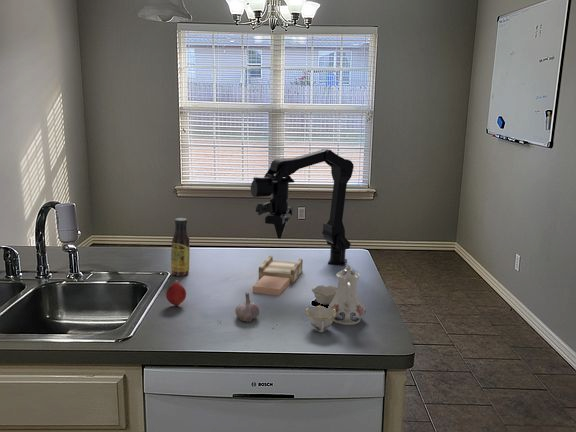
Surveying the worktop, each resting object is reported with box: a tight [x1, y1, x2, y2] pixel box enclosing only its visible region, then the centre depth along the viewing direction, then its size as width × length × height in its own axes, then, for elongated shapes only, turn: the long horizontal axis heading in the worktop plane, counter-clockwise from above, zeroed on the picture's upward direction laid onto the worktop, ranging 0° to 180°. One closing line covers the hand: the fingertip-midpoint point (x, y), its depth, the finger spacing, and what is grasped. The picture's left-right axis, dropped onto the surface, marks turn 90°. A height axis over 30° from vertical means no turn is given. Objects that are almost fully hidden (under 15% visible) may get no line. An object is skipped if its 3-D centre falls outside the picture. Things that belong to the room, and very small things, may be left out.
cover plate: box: [252, 275, 291, 296], centre depth 184 cm, size 12×9×2 cm
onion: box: [165, 280, 187, 307], centre depth 166 cm, size 6×6×8 cm
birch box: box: [258, 255, 304, 284], centre depth 196 cm, size 14×12×4 cm
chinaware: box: [305, 264, 367, 333], centre depth 159 cm, size 28×17×17 cm, turn 177°
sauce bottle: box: [170, 217, 191, 277], centre depth 193 cm, size 7×6×20 cm
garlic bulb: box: [235, 291, 260, 323], centre depth 158 cm, size 8×7×8 cm
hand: (279, 238), depth 199 cm, fingers closed
